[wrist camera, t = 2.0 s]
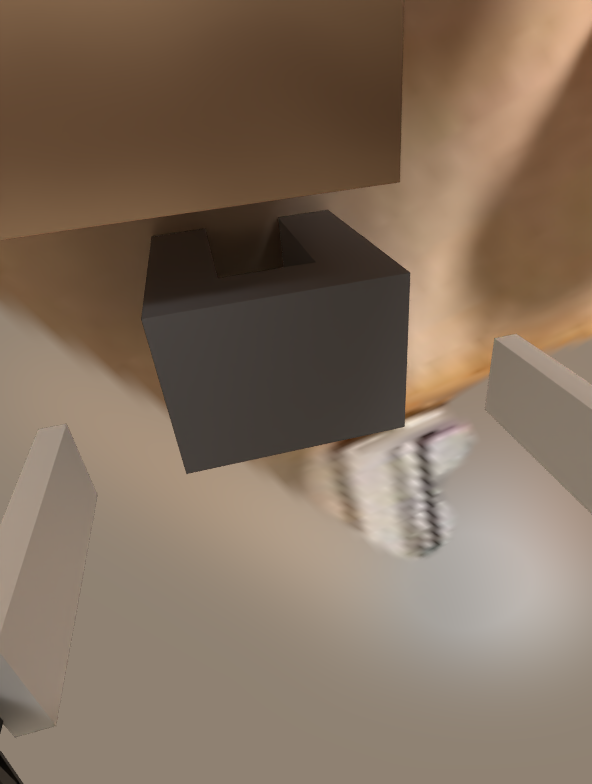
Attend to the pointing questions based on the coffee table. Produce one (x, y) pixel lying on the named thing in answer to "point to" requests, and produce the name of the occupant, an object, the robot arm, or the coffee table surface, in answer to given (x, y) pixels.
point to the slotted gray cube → (277, 342)
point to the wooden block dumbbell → (191, 106)
